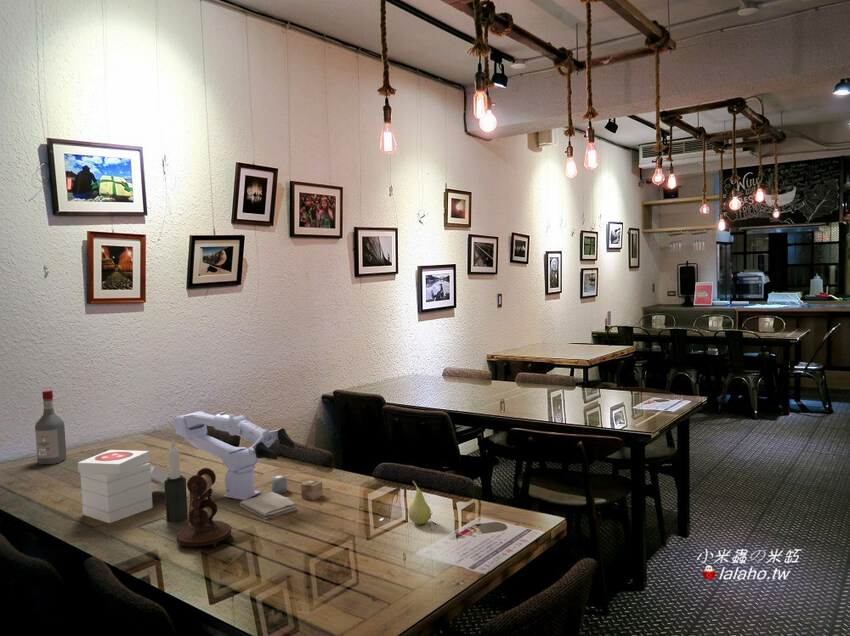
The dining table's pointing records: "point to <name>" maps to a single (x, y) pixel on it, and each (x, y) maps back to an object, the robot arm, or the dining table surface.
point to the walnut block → (311, 489)
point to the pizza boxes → (118, 484)
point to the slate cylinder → (279, 484)
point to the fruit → (419, 509)
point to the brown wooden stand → (202, 513)
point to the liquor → (50, 434)
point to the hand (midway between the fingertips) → (285, 450)
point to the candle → (175, 490)
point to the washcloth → (268, 505)
